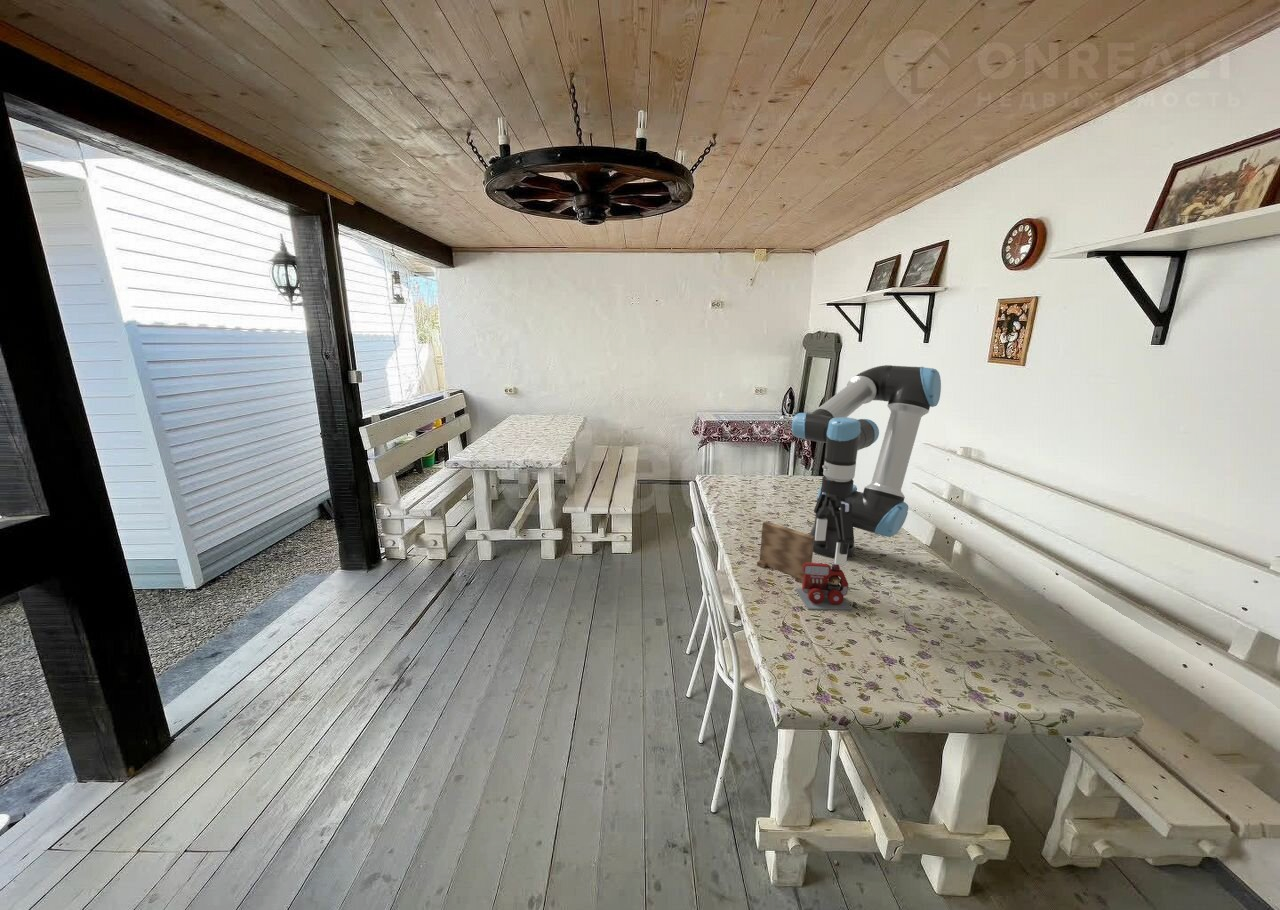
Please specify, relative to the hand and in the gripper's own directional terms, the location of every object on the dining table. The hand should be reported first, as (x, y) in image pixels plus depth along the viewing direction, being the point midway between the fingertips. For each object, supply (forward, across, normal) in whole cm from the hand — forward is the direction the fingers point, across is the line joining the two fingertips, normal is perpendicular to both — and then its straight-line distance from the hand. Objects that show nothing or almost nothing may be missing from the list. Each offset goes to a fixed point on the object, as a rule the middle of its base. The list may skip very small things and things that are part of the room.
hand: (829, 551), depth 127 cm
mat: (+14, 0, -1) cm, 15 cm away
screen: (+15, -16, -7) cm, 22 cm away
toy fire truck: (+14, 0, 0) cm, 14 cm away
